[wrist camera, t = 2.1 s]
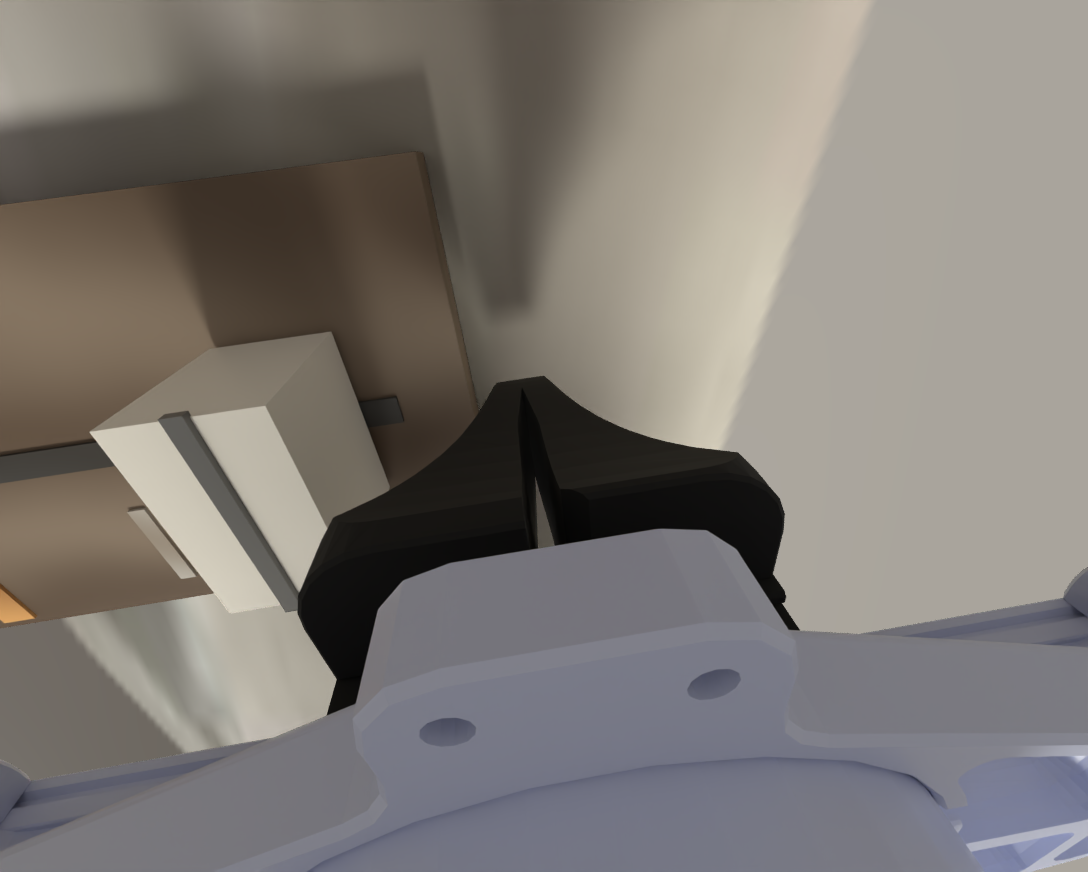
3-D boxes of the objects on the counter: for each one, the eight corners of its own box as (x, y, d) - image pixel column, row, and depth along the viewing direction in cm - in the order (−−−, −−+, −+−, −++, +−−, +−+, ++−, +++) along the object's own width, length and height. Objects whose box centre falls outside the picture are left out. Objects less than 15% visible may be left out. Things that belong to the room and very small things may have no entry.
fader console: (501, 517, 17) (503, 547, 16) (-63, 608, 16) (-112, 648, 15) (422, 152, 11) (414, 151, 10) (-506, 272, 10) (-660, 290, 9)
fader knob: (391, 488, 14) (359, 599, 10) (293, 504, 14) (228, 622, 10) (329, 327, 11) (258, 404, 8) (207, 345, 11) (78, 431, 8)
